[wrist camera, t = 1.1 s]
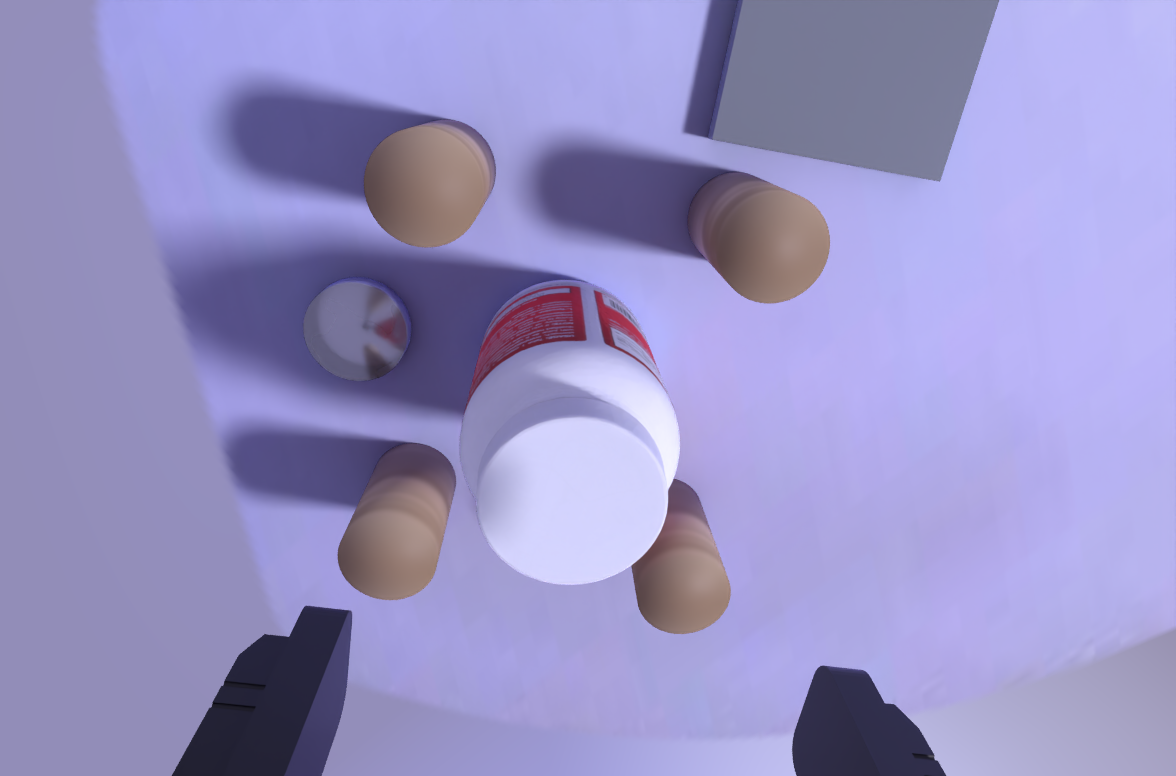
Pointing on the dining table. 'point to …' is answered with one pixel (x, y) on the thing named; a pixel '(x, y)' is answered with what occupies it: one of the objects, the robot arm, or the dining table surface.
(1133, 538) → the dining table surface
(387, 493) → the cylinder
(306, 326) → the shiny metal disc
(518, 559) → the pill bottle
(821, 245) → the cylinder
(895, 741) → the robot arm
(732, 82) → the slate coaster
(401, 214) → the cylinder
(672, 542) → the cylinder
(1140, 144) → the dining table surface
